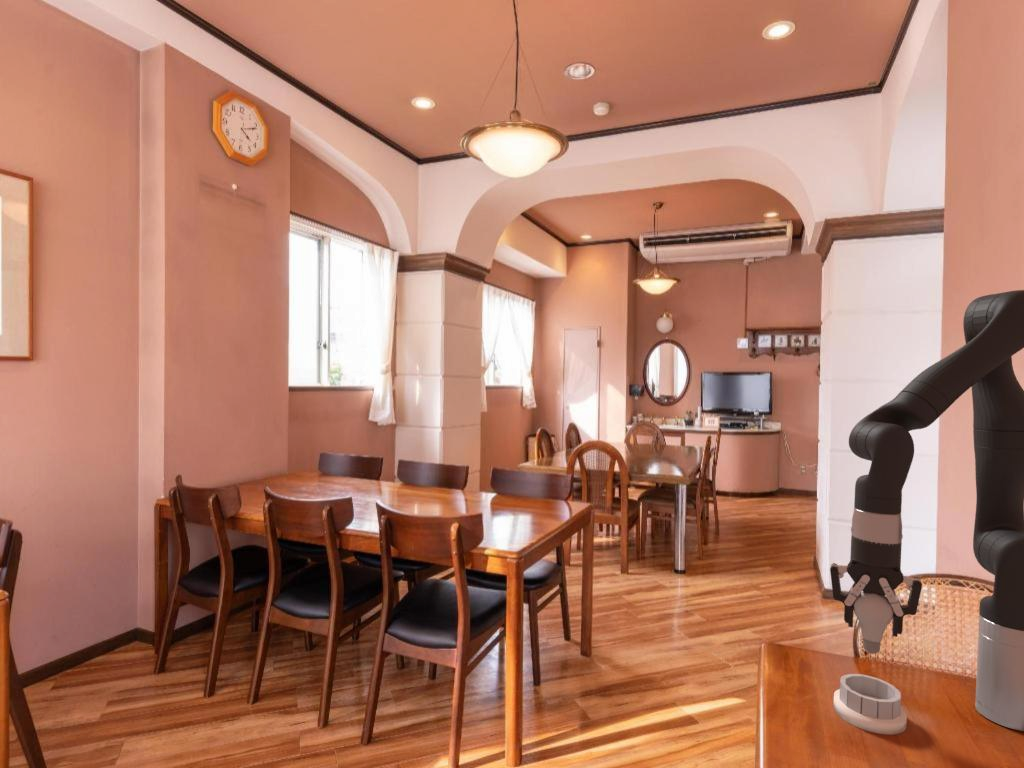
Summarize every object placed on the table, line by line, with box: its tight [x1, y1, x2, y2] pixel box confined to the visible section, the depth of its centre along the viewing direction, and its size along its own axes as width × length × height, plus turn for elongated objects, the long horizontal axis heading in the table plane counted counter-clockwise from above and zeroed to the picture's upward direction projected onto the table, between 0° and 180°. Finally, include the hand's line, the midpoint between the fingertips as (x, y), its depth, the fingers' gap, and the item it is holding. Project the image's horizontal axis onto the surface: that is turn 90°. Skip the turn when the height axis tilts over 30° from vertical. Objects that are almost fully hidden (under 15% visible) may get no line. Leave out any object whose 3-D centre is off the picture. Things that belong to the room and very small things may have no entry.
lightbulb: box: [853, 591, 894, 655], centre depth 103 cm, size 6×6×11 cm
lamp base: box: [832, 673, 908, 736], centre depth 104 cm, size 11×11×5 cm
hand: (872, 629), depth 103 cm, fingers closed on lightbulb, 6 cm apart
